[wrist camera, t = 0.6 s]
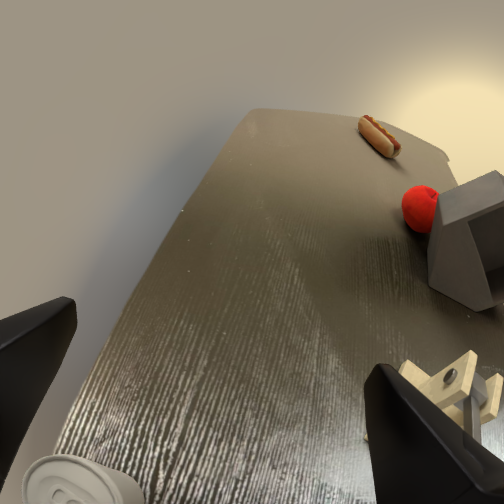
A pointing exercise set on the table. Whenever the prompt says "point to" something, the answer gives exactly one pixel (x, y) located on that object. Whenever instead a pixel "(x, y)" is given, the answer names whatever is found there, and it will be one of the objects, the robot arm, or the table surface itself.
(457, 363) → the bracket
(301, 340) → the table surface
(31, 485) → the beverage can
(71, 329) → the robot arm
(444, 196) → the planter
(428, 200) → the apple
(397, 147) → the food
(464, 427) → the lever
